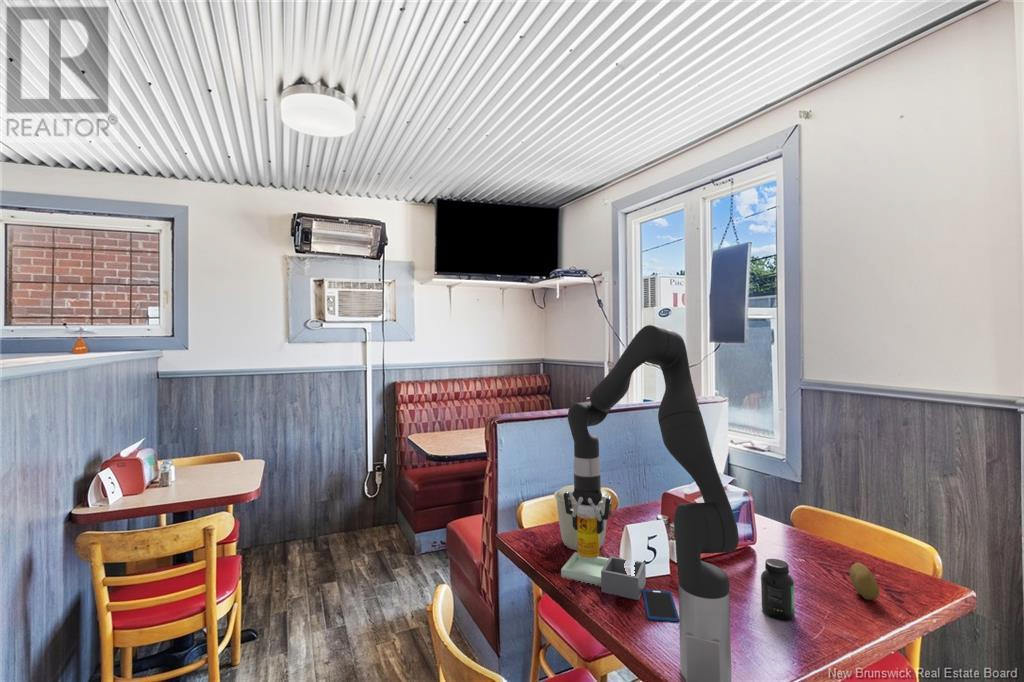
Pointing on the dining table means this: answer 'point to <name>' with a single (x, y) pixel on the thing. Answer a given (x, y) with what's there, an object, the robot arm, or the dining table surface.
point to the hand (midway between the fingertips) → (588, 530)
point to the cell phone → (660, 606)
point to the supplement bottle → (777, 590)
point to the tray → (584, 569)
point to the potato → (864, 581)
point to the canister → (566, 520)
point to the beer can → (587, 532)
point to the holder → (623, 579)
